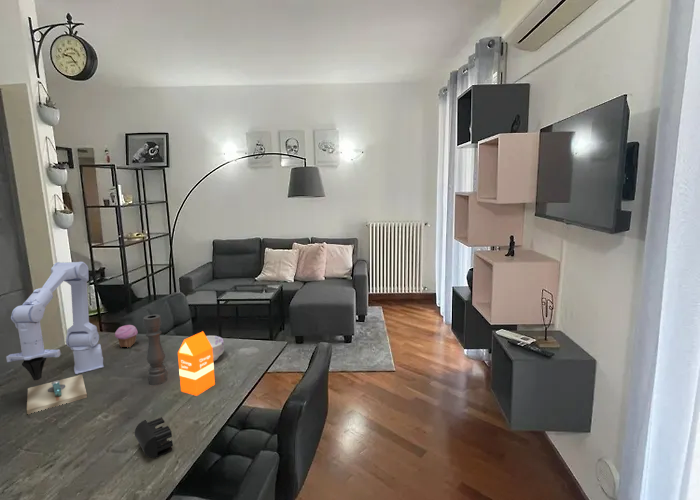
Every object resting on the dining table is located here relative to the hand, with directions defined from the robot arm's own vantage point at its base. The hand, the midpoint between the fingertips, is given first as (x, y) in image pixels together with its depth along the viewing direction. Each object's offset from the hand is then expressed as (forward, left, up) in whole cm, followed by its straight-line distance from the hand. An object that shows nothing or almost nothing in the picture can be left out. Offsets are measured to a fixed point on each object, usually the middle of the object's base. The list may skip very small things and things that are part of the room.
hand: (37, 378), depth 130 cm
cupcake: (-31, -35, -9) cm, 48 cm away
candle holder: (-34, +9, -9) cm, 37 cm away
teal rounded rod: (-5, -2, -7) cm, 8 cm away
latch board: (-4, -3, -9) cm, 10 cm away
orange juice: (-44, +24, -9) cm, 51 cm away
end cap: (-24, +50, -9) cm, 57 cm away
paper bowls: (-54, +2, -9) cm, 55 cm away
